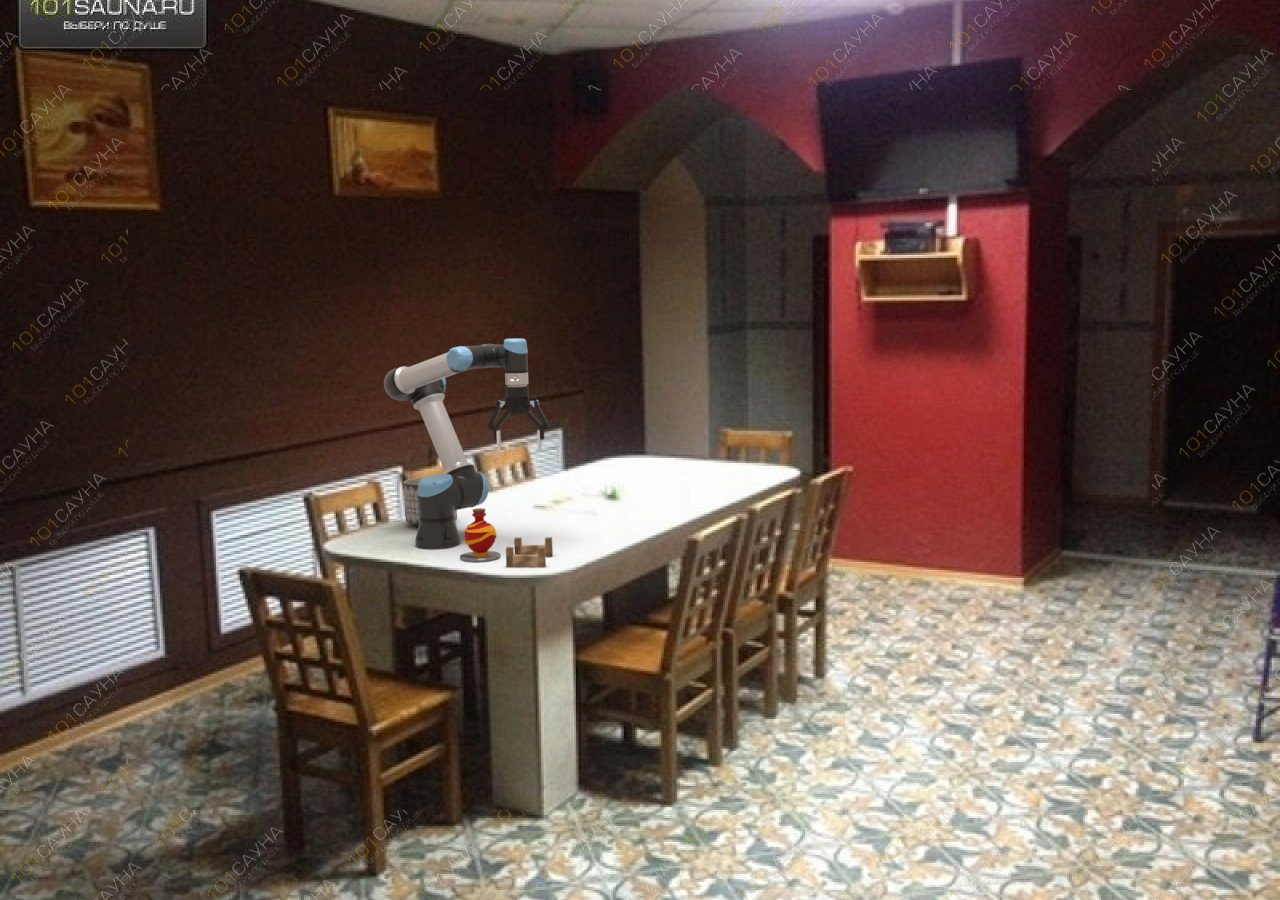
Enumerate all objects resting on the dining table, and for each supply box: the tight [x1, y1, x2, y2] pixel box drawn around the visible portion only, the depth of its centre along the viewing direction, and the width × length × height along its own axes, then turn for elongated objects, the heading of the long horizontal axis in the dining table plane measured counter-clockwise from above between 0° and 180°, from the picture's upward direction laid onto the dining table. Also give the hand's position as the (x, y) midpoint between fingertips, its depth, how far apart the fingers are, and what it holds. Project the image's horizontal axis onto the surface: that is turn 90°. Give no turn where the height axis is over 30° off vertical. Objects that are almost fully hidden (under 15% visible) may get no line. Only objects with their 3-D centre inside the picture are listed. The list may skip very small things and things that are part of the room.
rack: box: [505, 536, 554, 568], centre depth 369 cm, size 12×16×6 cm
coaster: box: [459, 550, 502, 563], centre depth 375 cm, size 13×13×1 cm
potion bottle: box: [463, 507, 498, 557], centre depth 374 cm, size 10×10×15 cm
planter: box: [402, 476, 458, 527], centre depth 430 cm, size 19×19×16 cm
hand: (519, 449), depth 386 cm, fingers open, 13 cm apart
